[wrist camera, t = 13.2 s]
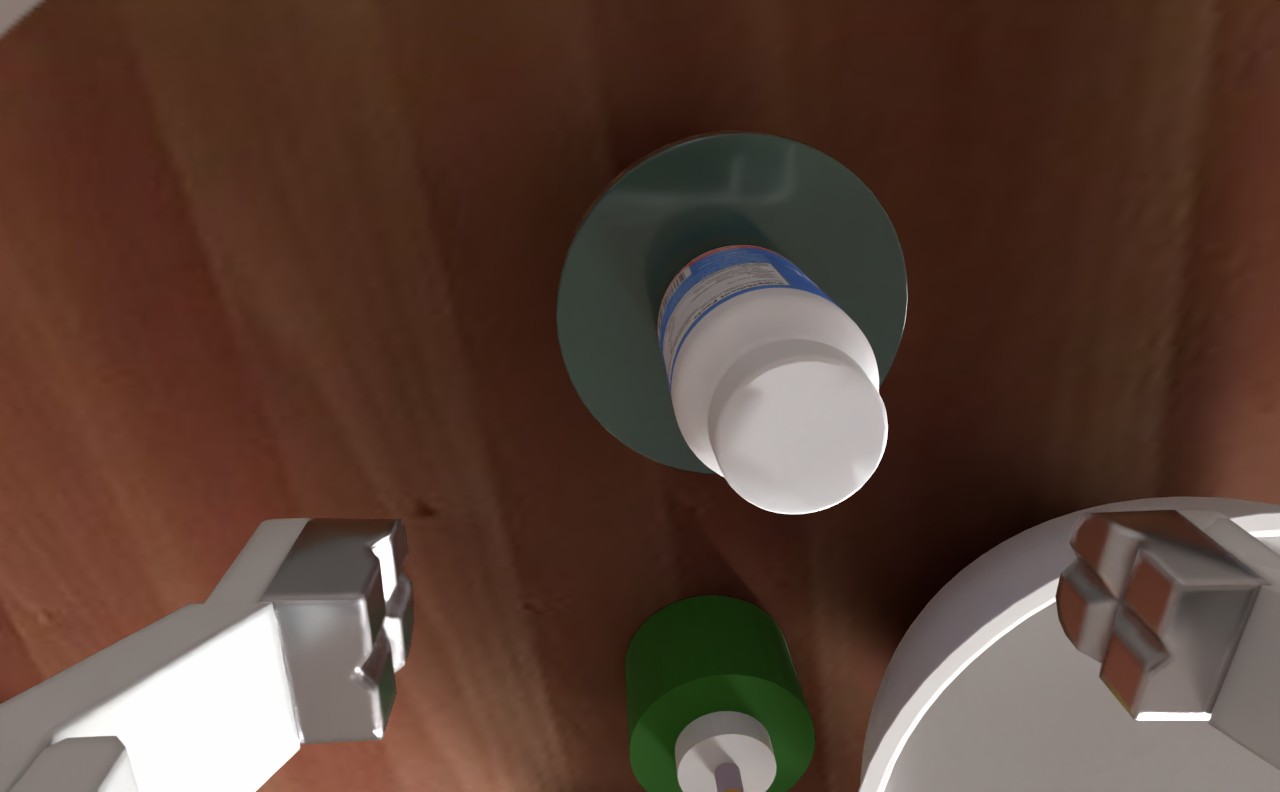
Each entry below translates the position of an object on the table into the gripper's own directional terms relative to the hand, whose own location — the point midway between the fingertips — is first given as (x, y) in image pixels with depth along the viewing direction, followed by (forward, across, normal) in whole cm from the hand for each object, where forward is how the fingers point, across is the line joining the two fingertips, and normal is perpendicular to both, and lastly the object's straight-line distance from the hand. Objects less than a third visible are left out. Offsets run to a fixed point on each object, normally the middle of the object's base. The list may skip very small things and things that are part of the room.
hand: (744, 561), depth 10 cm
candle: (+24, -4, +23) cm, 33 cm away
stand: (+24, -3, +3) cm, 24 cm away
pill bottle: (+18, -3, +3) cm, 18 cm away
